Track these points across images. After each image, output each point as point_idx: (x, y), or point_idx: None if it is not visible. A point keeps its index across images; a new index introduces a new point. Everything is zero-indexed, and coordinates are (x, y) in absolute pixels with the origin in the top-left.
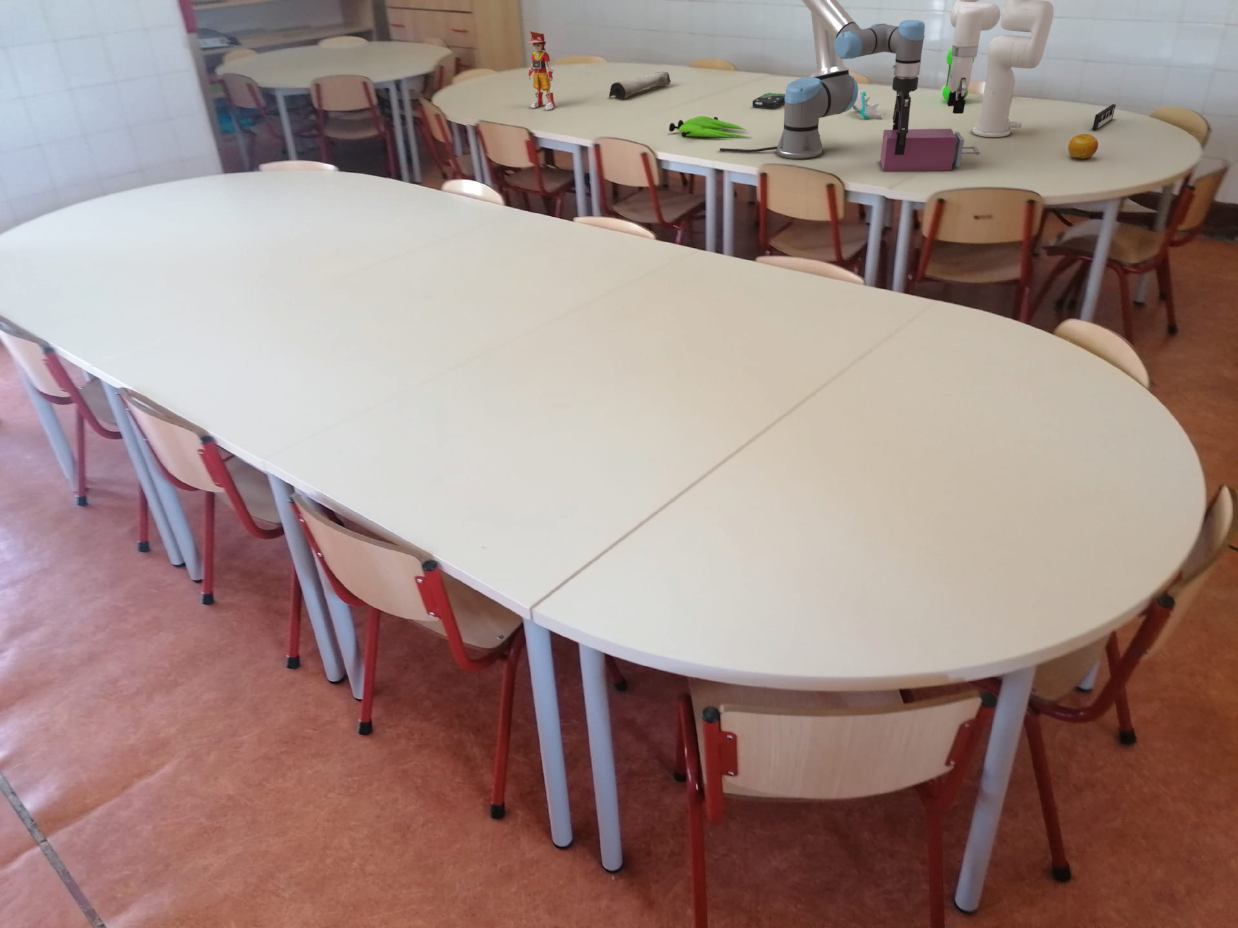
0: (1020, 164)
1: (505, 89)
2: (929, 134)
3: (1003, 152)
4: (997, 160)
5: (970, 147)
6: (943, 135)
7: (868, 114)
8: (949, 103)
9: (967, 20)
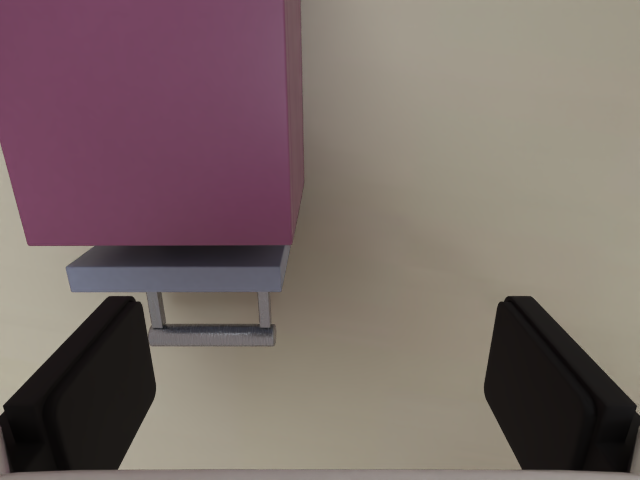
0: (250, 459)
1: None
2: (81, 22)
3: (423, 437)
4: (308, 397)
5: (259, 319)
6: (65, 151)
7: None
8: (514, 325)
9: None
